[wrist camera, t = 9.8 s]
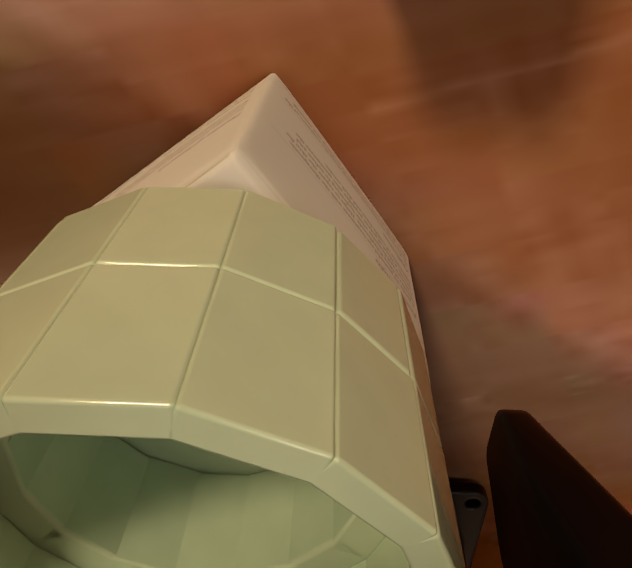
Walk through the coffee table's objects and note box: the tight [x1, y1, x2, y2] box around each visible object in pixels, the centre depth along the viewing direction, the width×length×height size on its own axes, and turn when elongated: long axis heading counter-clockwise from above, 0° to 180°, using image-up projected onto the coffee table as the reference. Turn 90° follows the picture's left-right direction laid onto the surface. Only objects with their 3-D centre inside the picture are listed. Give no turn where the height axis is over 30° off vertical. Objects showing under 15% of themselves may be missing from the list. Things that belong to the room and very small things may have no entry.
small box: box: [92, 73, 430, 382], centre depth 12 cm, size 6×6×5 cm
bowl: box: [0, 187, 466, 568], centre depth 8 cm, size 7×7×4 cm
